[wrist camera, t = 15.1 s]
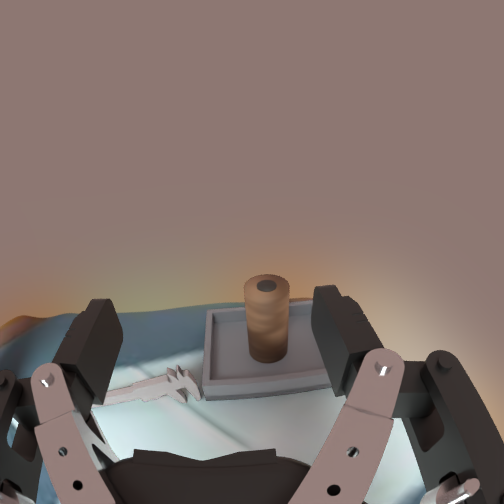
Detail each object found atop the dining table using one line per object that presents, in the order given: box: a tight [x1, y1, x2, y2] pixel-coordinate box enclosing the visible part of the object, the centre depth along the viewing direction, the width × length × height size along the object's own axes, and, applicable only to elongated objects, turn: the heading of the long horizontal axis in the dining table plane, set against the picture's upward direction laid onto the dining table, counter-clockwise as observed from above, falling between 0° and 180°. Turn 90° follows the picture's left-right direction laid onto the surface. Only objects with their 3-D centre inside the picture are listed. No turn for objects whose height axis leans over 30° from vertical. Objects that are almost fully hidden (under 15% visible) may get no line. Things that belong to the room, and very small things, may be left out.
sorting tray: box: [202, 300, 332, 401], centre depth 36 cm, size 16×14×3 cm
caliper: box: [91, 365, 201, 408], centre depth 27 cm, size 20×1×6 cm, turn 105°
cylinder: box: [244, 274, 289, 364], centre depth 34 cm, size 5×5×10 cm
